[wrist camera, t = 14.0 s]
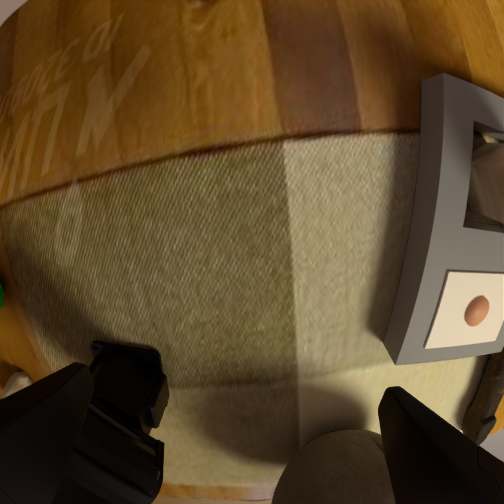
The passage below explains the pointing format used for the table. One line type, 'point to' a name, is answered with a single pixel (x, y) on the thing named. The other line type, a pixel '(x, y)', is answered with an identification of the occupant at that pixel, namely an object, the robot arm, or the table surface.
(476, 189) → the maple peg
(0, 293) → the polyhedron
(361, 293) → the table surface
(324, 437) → the cantaloupe
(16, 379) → the chocolate bunny
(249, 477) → the table surface
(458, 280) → the grey tray
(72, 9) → the table surface
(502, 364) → the hand tool
